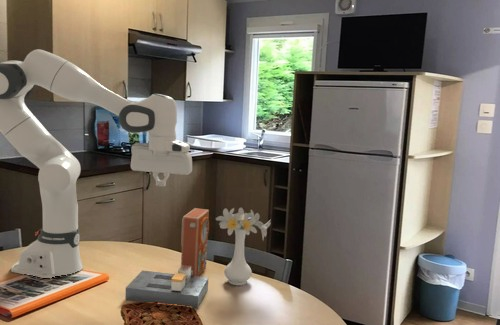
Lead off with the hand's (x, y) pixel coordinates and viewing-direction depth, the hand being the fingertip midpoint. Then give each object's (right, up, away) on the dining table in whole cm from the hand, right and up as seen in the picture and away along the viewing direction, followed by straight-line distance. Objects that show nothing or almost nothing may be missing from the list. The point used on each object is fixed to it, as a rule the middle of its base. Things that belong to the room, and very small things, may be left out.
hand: (160, 185), depth 155 cm
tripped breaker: (+8, -30, -15) cm, 34 cm away
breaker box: (+4, -33, -10) cm, 35 cm away
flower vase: (+26, -33, +3) cm, 42 cm away
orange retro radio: (+10, -31, +9) cm, 34 cm away
